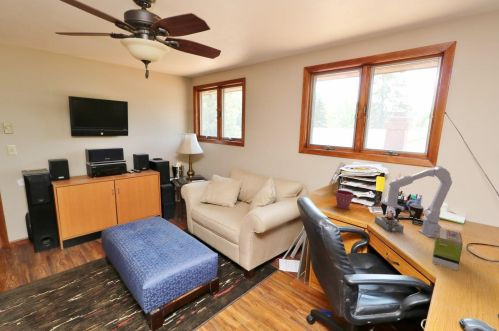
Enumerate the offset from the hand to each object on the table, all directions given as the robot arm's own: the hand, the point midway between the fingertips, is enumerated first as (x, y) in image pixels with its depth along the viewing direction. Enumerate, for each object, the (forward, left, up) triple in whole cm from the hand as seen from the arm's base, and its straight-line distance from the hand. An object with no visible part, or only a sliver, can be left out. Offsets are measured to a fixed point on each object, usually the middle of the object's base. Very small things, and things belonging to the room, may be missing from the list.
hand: (390, 216), depth 159 cm
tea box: (-41, -5, -7) cm, 42 cm away
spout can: (0, 0, -2) cm, 3 cm away
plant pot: (+35, +18, -7) cm, 40 cm away
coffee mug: (+16, -28, -7) cm, 33 cm away
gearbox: (-1, +1, -7) cm, 7 cm away
